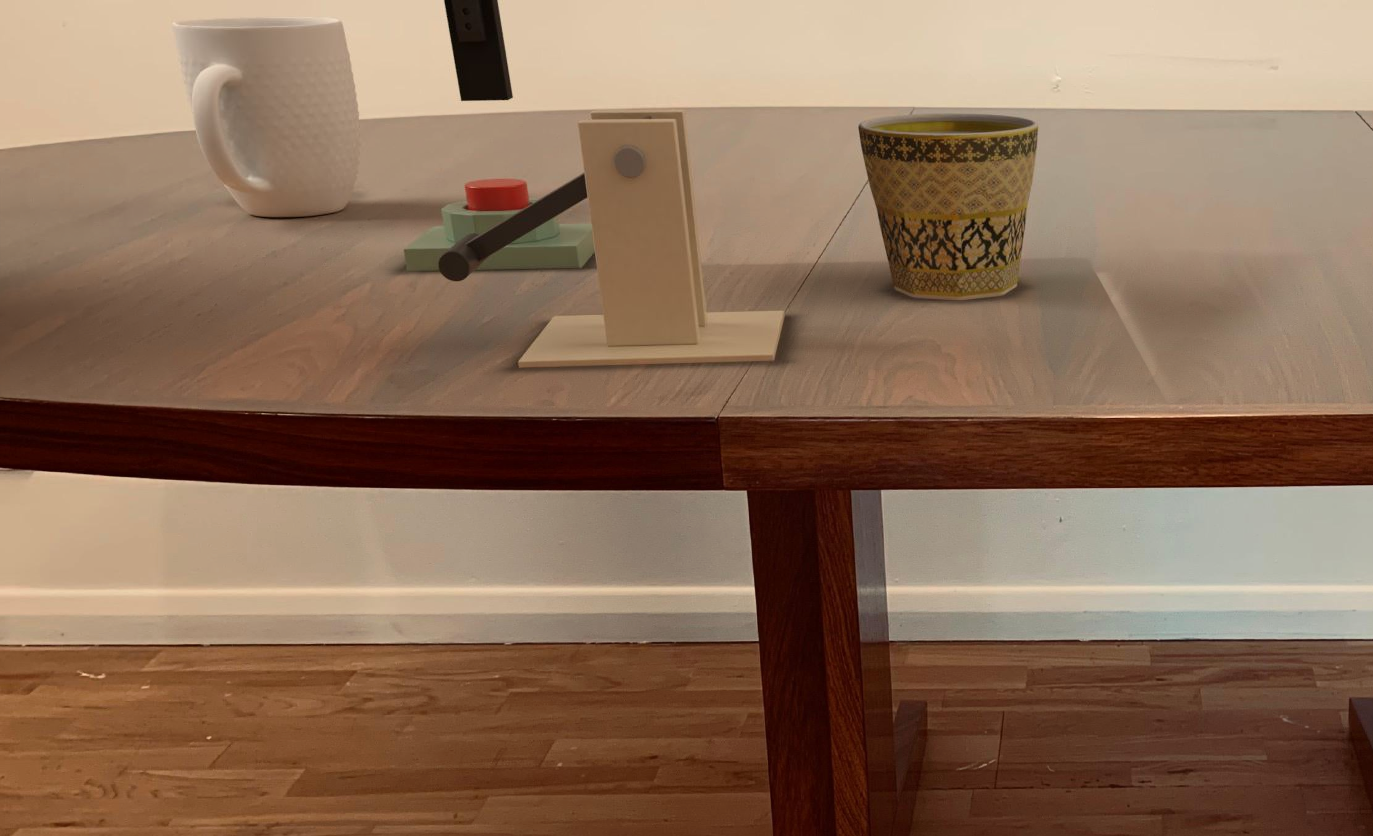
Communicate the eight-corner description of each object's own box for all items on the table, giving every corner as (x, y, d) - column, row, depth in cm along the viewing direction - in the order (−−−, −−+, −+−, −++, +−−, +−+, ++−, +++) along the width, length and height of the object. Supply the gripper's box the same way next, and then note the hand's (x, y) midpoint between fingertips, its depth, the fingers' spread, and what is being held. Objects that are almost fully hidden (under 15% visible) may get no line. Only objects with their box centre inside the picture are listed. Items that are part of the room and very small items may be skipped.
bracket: (521, 386, 83) (481, 129, 78) (556, 338, 92) (523, 105, 87) (775, 378, 85) (752, 126, 80) (786, 332, 94) (766, 103, 89)
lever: (457, 295, 84) (424, 251, 83) (479, 275, 88) (448, 233, 87) (670, 169, 83) (640, 123, 82) (681, 155, 87) (653, 111, 86)
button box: (409, 286, 104) (397, 217, 103) (440, 260, 111) (429, 196, 110) (581, 282, 106) (572, 215, 104) (601, 257, 113) (592, 194, 111)
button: (463, 217, 105) (458, 187, 104) (475, 207, 108) (471, 179, 108) (524, 216, 106) (520, 187, 105) (535, 207, 109) (531, 178, 108)
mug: (306, 234, 120) (265, 31, 114) (151, 232, 120) (102, 29, 114) (403, 200, 133) (370, 17, 127) (262, 198, 133) (224, 15, 128)
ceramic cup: (1011, 326, 96) (1005, 137, 92) (842, 315, 98) (829, 130, 94) (1077, 281, 107) (1074, 111, 103) (925, 272, 109) (916, 105, 105)
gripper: (457, -375, 89) (532, 110, 99) (507, -344, 100) (569, 87, 111) (302, -377, 88) (394, 113, 98) (371, -346, 99) (446, 89, 110)
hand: (487, 99), depth 104 cm, fingers closed
